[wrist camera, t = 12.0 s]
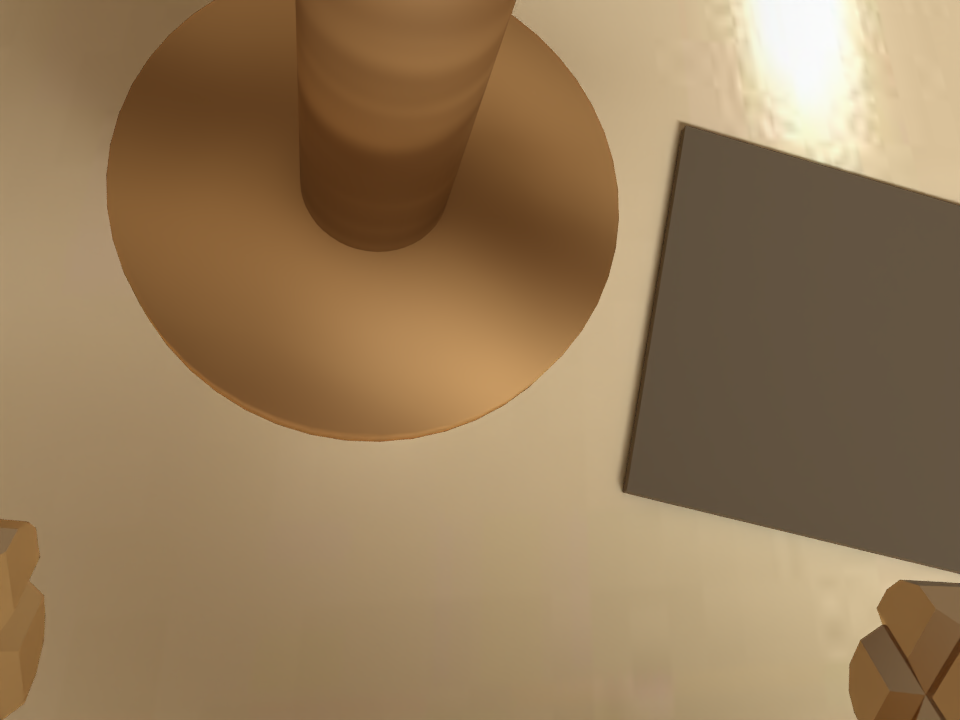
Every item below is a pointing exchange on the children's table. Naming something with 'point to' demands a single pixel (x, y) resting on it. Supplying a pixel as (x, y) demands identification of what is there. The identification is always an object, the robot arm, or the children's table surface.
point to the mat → (804, 354)
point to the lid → (362, 209)
